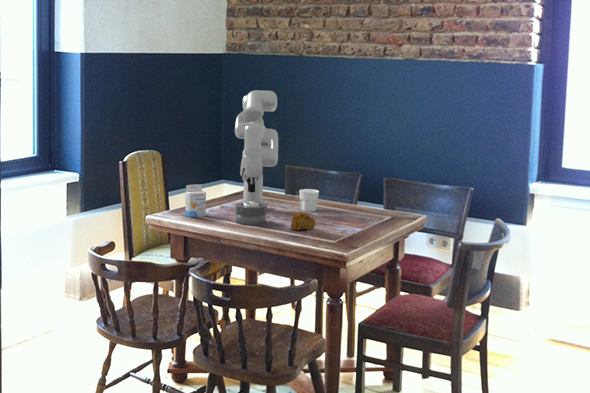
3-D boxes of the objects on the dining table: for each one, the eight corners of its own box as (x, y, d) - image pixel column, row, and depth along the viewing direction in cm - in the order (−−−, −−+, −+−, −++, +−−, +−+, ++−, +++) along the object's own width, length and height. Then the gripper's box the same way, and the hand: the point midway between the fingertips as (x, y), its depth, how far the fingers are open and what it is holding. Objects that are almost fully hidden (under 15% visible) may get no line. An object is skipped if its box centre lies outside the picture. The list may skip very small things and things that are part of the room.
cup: (307, 212, 330) (308, 193, 328) (294, 209, 338) (295, 190, 336) (322, 210, 336) (323, 191, 334) (309, 207, 344) (310, 188, 342)
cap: (251, 211, 309) (251, 199, 308) (261, 213, 304) (262, 201, 303) (240, 213, 304) (240, 201, 303) (250, 215, 299) (250, 203, 298)
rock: (292, 236, 299) (302, 218, 303) (308, 241, 295) (318, 223, 299) (286, 223, 290) (296, 205, 294) (302, 228, 286) (313, 210, 290)
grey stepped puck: (251, 217, 314) (252, 200, 313) (272, 222, 305) (272, 205, 303) (229, 221, 304) (229, 204, 303) (249, 226, 295) (250, 209, 293)
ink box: (189, 217, 308) (189, 186, 306) (185, 215, 312) (185, 185, 310) (206, 216, 313) (206, 185, 310) (201, 214, 317) (201, 184, 314)
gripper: (258, 149, 307) (257, 188, 311) (234, 152, 296) (233, 192, 300) (270, 152, 302) (268, 191, 306) (245, 155, 291) (244, 195, 295)
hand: (251, 191), depth 303 cm, fingers closed
